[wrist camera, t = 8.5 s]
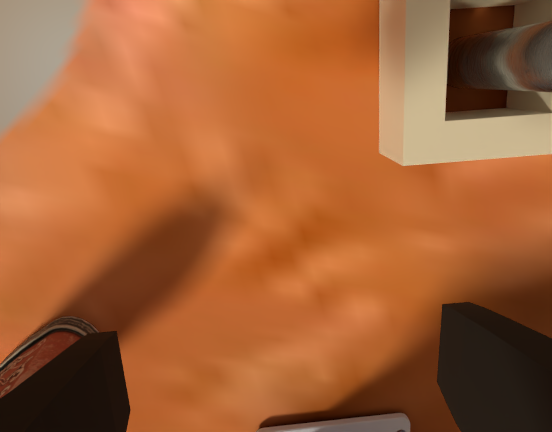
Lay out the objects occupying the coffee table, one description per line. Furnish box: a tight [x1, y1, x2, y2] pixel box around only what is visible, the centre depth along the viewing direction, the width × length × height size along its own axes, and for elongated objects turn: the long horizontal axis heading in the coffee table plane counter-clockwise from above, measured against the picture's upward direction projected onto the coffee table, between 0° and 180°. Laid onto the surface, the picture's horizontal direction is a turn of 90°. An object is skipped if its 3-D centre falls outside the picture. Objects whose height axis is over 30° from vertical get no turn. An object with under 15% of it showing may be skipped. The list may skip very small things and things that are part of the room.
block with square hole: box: [379, 0, 552, 166], centre depth 17 cm, size 7×7×3 cm
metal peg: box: [447, 20, 552, 92], centre depth 14 cm, size 2×2×9 cm
